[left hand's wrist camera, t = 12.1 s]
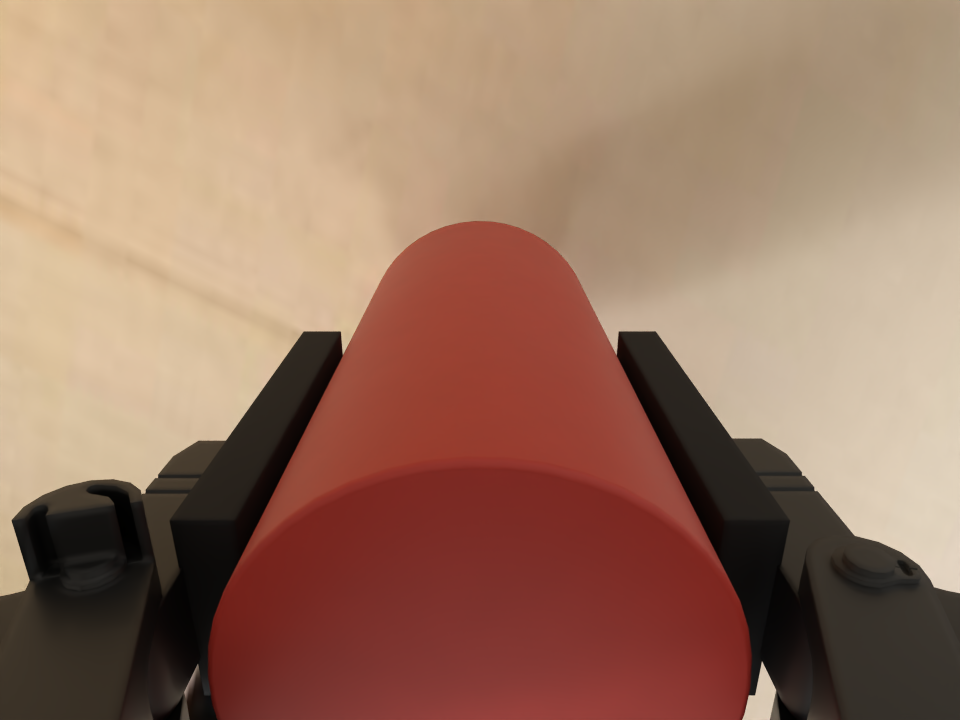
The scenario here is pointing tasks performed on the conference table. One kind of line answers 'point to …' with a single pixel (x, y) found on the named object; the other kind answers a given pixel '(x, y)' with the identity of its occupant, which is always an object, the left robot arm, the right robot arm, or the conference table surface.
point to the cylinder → (479, 522)
